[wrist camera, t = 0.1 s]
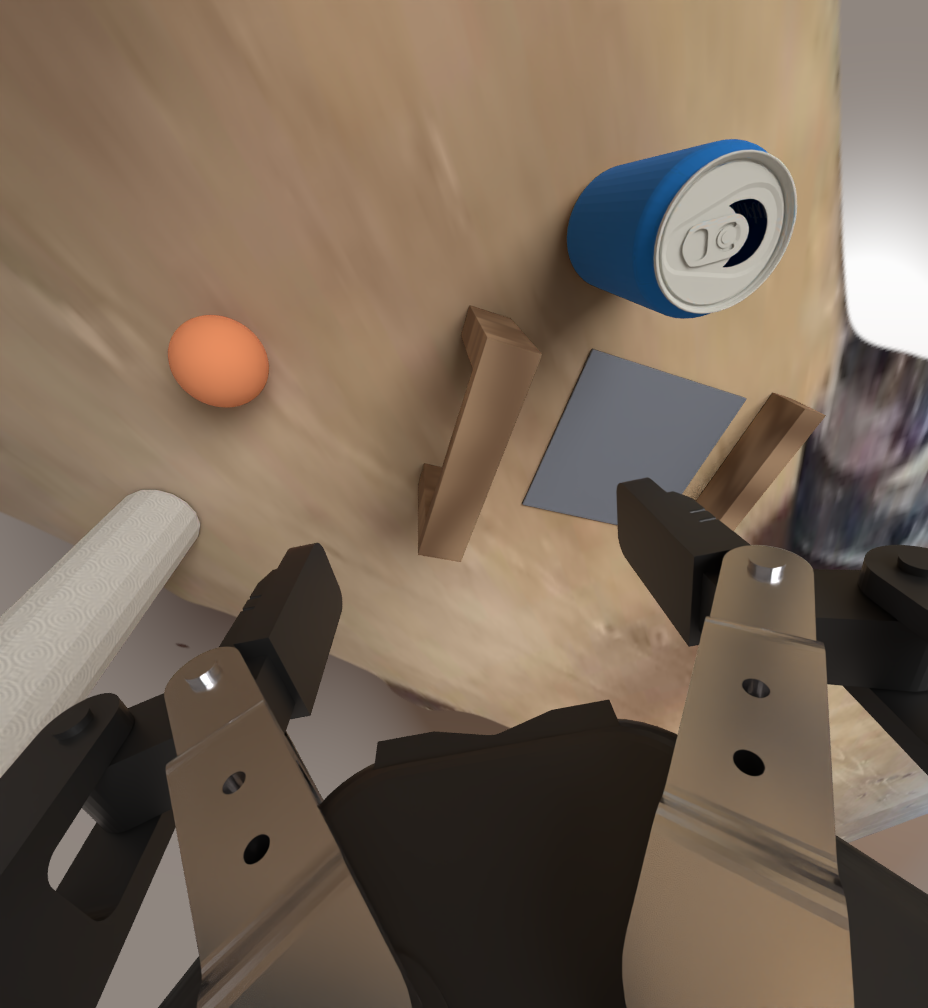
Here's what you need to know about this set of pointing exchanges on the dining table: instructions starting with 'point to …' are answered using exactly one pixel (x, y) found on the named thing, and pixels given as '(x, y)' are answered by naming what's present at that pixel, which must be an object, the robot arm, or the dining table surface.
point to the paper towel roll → (86, 612)
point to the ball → (218, 361)
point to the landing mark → (627, 436)
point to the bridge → (475, 433)
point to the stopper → (758, 458)
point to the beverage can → (685, 227)
